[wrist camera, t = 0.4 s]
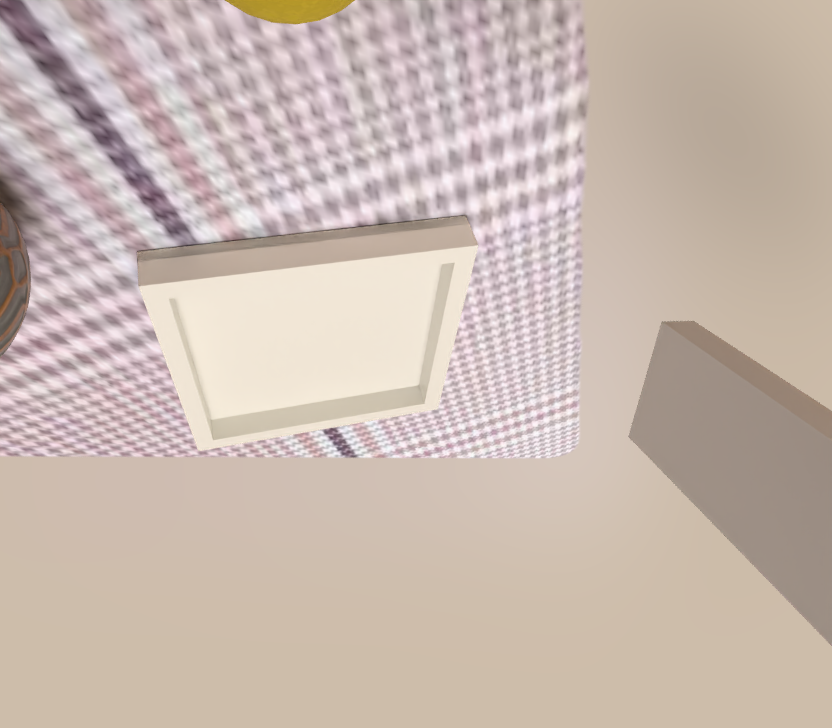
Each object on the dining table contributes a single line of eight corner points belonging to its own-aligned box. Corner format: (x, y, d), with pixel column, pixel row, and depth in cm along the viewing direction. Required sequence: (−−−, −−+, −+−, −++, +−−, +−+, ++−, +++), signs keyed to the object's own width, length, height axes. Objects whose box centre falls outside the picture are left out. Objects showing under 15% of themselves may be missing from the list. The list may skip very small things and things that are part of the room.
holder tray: (137, 251, 29) (138, 286, 28) (465, 215, 32) (478, 245, 31) (195, 422, 41) (198, 451, 40) (429, 383, 45) (437, 409, 44)
